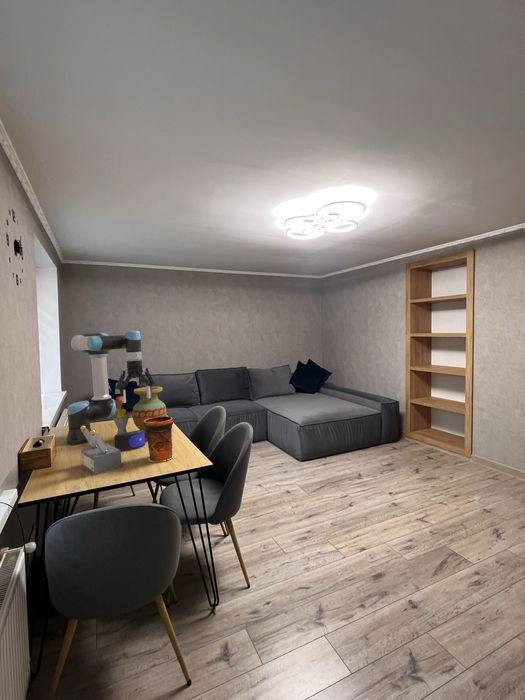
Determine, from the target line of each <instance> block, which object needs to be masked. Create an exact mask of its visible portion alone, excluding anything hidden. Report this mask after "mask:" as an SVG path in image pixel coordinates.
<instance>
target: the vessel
mask: <svg viewBox="0 0 525 700" xmlns="http://www.w3.org/2000/svg"><path fill="white" fill-rule="evenodd" d="M174 422H175V421H174V419H173V417H171V416H161V417H154V418H149V419H146V420H144V426H145V428H146V431H147V440H148V441H147V446H148V453H149V456H148V457H147V459H148V461H149V462H150V463H152V462H153V463H158V462H167V461H166V460H169V459H170V458H172V455H173V437H172V436H173V433H172V429H173V424H174ZM169 461H170V460H169Z"/></svg>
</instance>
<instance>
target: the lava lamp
mask: <svg viewBox="0 0 525 700" xmlns="http://www.w3.org/2000/svg"><path fill="white" fill-rule="evenodd" d="M117 383H118V382H116V383H115V387H116V386H117ZM114 394H116V395H117V394H119V395H120V390H119V389H116V388H115V391H114ZM115 403H116V411H117V415H113V416H112V419H113V422H114V424H115V426H116V427H117V432H116V434H121V433H126V432H128V431H127V426H128V422H129V418H130V415H129V414H127V410H126V409H125V408H122V404H123V402H122V396H117V397H115Z"/></svg>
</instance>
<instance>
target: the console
mask: <svg viewBox="0 0 525 700" xmlns="http://www.w3.org/2000/svg"><path fill="white" fill-rule="evenodd" d="M104 445H105V447H106V448H107V453H103V452H101V450H100V449H99V447H98V446H97V448H93V447H92V446H90V447H86V448H82V449H80V459H81V460H80V462H81V466H82V467H83V468H85V469H86V470H87V471H89V472H90V473H92V474H93V475H95V476H96V475H99V474H103V473H106V472H110V471H113V470H115V469H119V468H122V466H123V465H122V452H121V450H119V449H117V448H115V446H113V445H111V444H108V443H104Z"/></svg>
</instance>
